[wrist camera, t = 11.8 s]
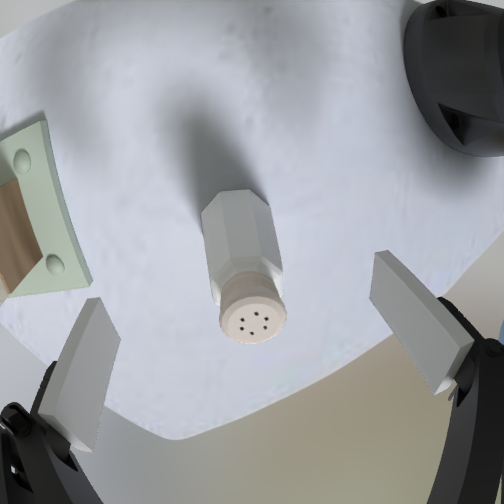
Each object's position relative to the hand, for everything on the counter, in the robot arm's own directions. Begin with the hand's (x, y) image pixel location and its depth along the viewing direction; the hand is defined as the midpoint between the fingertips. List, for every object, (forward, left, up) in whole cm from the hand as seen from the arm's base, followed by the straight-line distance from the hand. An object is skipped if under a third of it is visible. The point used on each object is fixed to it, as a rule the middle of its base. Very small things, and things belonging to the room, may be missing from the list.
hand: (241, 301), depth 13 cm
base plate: (+20, -4, -9) cm, 22 cm away
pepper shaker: (0, 0, -10) cm, 10 cm away
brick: (+20, -4, -8) cm, 22 cm away
